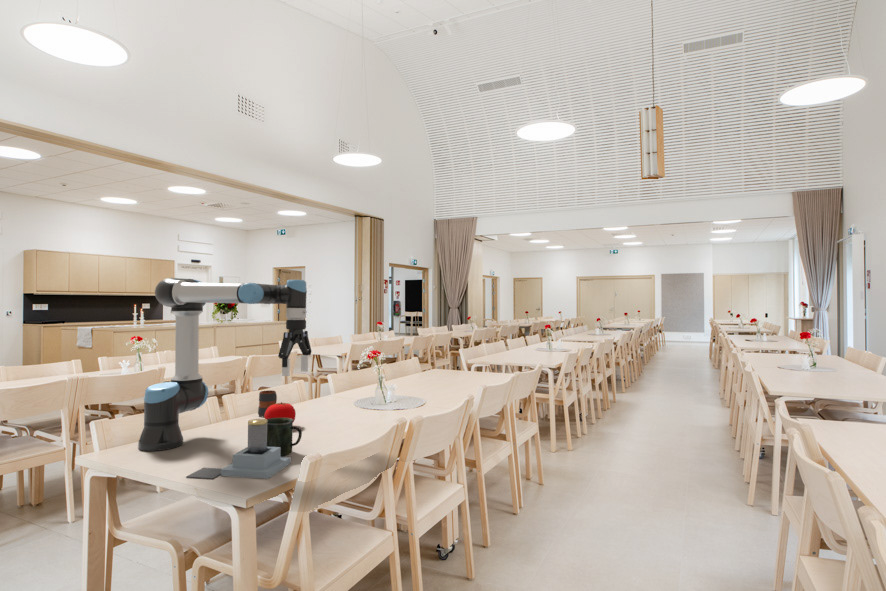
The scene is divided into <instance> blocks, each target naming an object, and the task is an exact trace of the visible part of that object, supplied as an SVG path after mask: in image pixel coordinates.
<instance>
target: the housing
mask: <svg viewBox="0 0 886 591" xmlns="http://www.w3.org/2000/svg"><path fill="white" fill-rule="evenodd" d="M280 456H281V447H267V452H266V453H264V454H262V455H261V454H248V446H247V447H245V448H243V449H242V450H240V451H237V452H236V453H234V454H232V462H231V463H230V464H228V465H226V466H224V467H222V468H220V469H221V475H220V476H221V477H234V478H235V477H236V478H248V479H249V478H250V479H251V478H252V479H265V480H266V479H267V480H268V479H270V478H271V477H273V476H274V475H276V474H277V473H279V472H280V471H281V470H283V469H284V468H286V467H287V466H289V465H290V464H291V462H292V461H291V459H292V458H291V457H289V456H281V457H280Z"/></svg>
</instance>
